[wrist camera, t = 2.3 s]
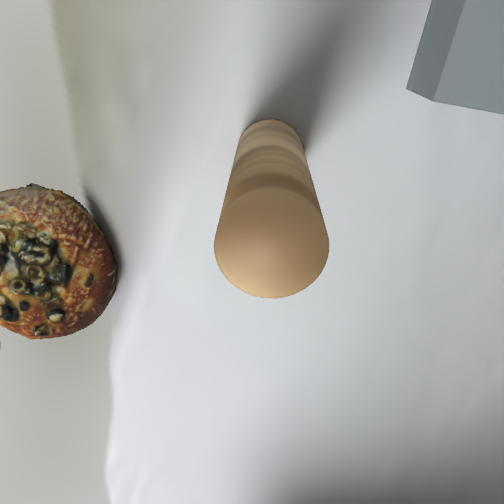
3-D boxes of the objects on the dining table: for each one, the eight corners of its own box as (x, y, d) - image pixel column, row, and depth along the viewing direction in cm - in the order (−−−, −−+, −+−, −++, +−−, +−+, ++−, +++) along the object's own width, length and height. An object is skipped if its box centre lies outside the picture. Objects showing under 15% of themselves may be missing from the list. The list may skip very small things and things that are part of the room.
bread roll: (117, 339, 36) (85, 380, 31) (-21, 303, 37) (-73, 338, 32) (130, 196, 31) (95, 219, 27) (-27, 160, 32) (-88, 176, 28)
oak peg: (295, 189, 30) (314, 306, 18) (232, 178, 30) (206, 288, 18) (309, 125, 29) (341, 205, 16) (242, 113, 29) (222, 184, 16)
